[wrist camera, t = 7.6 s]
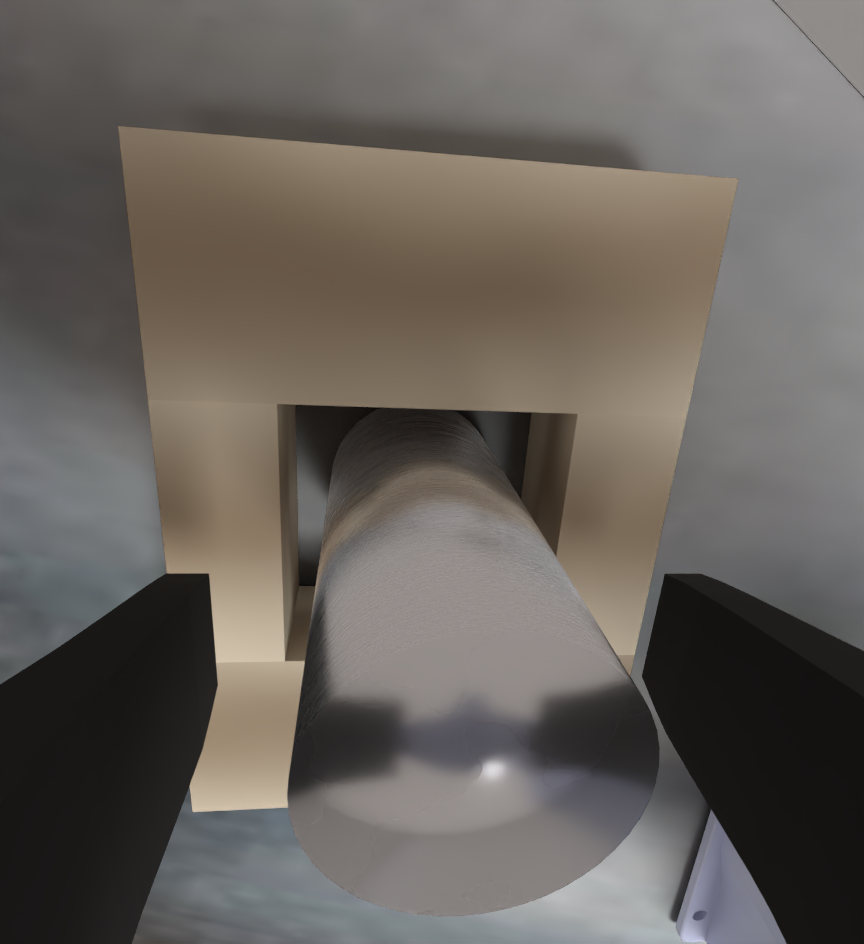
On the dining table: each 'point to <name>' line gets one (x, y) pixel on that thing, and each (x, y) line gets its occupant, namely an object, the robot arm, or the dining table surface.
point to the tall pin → (455, 687)
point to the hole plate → (402, 367)
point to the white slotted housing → (833, 32)
